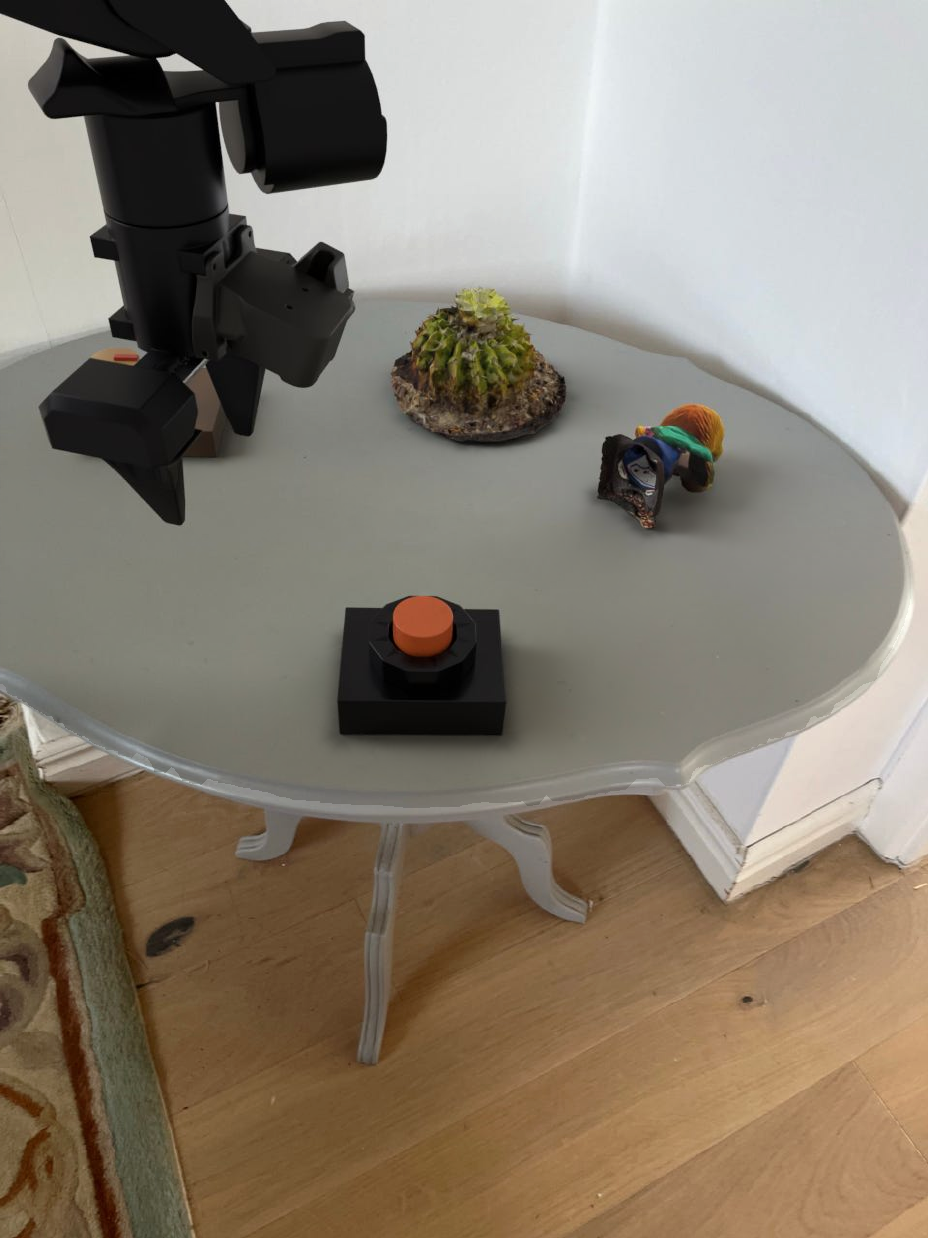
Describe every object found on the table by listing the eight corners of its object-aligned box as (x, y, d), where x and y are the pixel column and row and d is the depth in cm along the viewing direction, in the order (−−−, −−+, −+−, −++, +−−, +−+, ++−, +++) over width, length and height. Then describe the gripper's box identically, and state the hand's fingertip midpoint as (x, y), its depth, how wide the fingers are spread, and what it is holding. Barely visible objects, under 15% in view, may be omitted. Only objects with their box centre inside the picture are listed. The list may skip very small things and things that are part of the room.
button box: (339, 734, 59) (335, 679, 55) (347, 641, 64) (344, 586, 61) (502, 736, 59) (508, 681, 56) (496, 643, 65) (501, 588, 61)
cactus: (574, 449, 82) (589, 344, 75) (387, 444, 81) (385, 338, 75) (557, 349, 94) (569, 251, 88) (394, 344, 94) (393, 245, 87)
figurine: (686, 446, 83) (701, 382, 79) (748, 492, 78) (768, 427, 74) (581, 484, 78) (590, 419, 74) (641, 536, 74) (654, 469, 70)
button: (392, 657, 57) (392, 636, 56) (393, 615, 60) (393, 594, 59) (452, 658, 57) (453, 637, 56) (451, 616, 60) (452, 595, 59)
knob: (96, 420, 77) (82, 367, 74) (107, 395, 80) (95, 342, 77) (144, 421, 78) (132, 368, 74) (154, 396, 80) (143, 344, 77)
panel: (70, 461, 78) (62, 433, 76) (103, 389, 85) (97, 362, 84) (214, 464, 78) (209, 436, 76) (234, 393, 86) (230, 366, 84)
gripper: (243, 320, 37) (278, 609, 48) (390, 162, 51) (391, 418, 61) (-11, 275, 39) (78, 565, 50) (195, 134, 52) (230, 388, 63)
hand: (211, 476), depth 56 cm, fingers open, 9 cm apart
